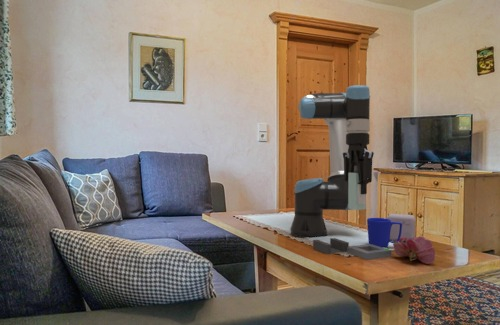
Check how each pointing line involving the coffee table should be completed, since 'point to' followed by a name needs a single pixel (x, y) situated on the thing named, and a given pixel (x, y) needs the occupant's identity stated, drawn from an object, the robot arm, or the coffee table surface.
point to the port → (369, 251)
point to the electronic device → (407, 226)
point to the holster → (331, 246)
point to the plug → (354, 191)
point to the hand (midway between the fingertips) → (357, 203)
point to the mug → (381, 231)
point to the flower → (415, 249)
